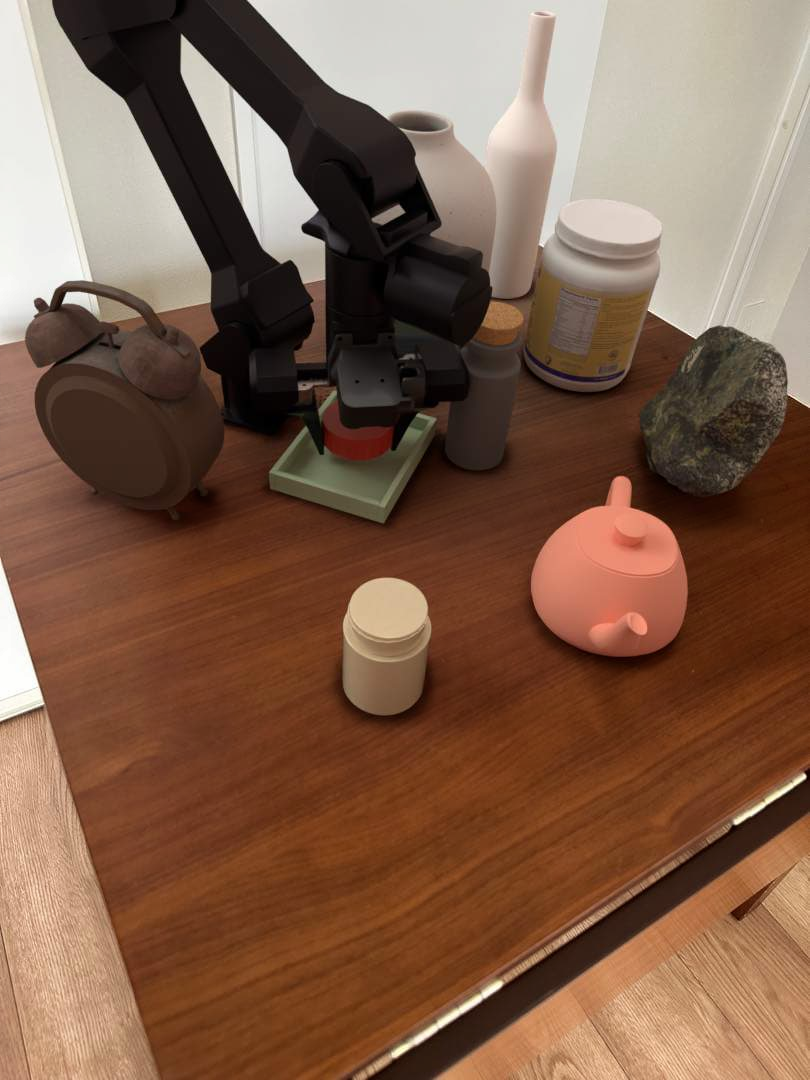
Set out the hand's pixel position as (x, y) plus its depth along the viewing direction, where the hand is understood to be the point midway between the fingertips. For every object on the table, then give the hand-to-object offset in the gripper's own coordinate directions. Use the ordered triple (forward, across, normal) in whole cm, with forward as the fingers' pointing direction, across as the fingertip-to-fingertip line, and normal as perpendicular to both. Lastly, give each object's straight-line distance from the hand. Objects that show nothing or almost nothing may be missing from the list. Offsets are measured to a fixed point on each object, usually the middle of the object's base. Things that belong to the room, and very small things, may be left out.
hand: (357, 450), depth 74 cm
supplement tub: (+1, +27, +14) cm, 31 cm away
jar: (+1, -1, -25) cm, 25 cm away
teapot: (+1, +17, -21) cm, 27 cm away
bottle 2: (+1, +12, 0) cm, 12 cm away
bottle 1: (+1, +23, +34) cm, 41 cm away
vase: (+1, +8, +20) cm, 21 cm away
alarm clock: (+1, -19, -3) cm, 19 cm away
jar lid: (-3, 0, 0) cm, 3 cm away
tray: (+1, 0, 0) cm, 1 cm away
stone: (+1, +32, -6) cm, 32 cm away
